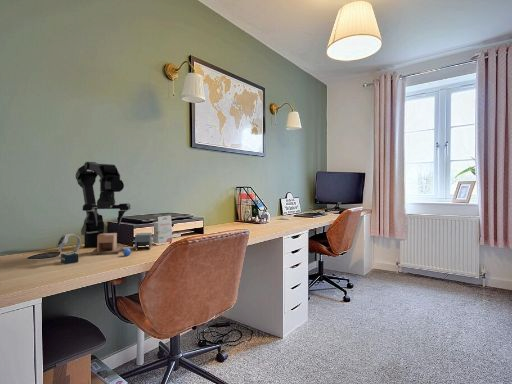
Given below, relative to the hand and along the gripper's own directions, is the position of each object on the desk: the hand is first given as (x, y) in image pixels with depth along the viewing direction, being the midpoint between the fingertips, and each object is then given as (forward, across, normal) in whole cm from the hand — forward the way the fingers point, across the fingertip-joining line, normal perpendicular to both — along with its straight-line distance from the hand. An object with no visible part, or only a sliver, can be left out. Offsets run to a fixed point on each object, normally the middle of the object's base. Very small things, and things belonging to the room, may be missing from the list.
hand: (107, 225), depth 131 cm
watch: (+12, -10, -16) cm, 22 cm away
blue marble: (+10, +10, -10) cm, 17 cm away
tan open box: (+11, 0, 0) cm, 11 cm away
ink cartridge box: (+12, +23, +14) cm, 29 cm away
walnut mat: (+12, 0, 0) cm, 12 cm away
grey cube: (+12, +15, +4) cm, 19 cm away
